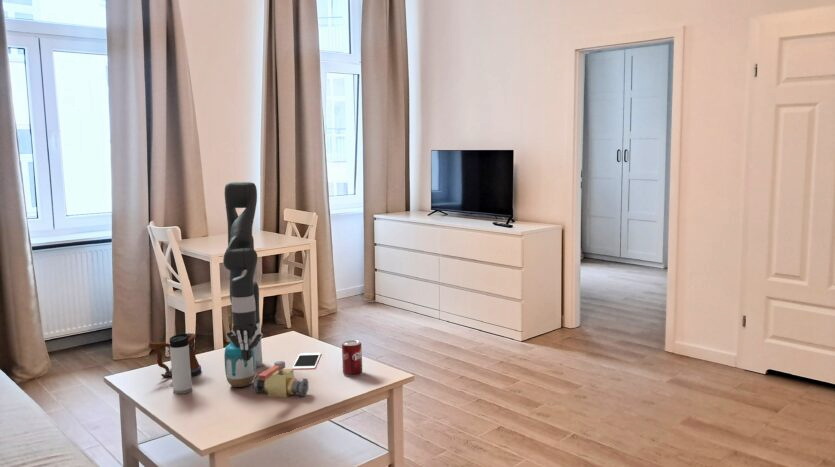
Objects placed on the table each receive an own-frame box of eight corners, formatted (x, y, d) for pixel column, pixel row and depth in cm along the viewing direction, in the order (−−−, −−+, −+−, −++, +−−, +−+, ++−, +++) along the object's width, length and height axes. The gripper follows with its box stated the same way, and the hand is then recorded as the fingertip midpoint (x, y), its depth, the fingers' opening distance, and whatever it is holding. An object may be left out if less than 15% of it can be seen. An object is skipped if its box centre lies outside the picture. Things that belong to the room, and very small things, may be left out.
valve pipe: (253, 394, 229) (252, 369, 227) (262, 388, 234) (261, 363, 233) (301, 399, 224) (299, 373, 222) (308, 392, 229) (307, 367, 228)
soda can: (364, 370, 250) (362, 339, 249) (360, 377, 243) (359, 345, 241) (345, 370, 251) (344, 339, 249) (341, 377, 244) (339, 345, 242)
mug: (154, 384, 240) (150, 345, 238) (149, 375, 250) (145, 337, 248) (204, 374, 249) (201, 336, 247) (197, 366, 259) (195, 329, 257)
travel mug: (196, 387, 236) (192, 333, 233) (184, 394, 230) (180, 339, 227) (181, 386, 238) (177, 332, 235) (169, 392, 232) (165, 337, 229)
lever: (277, 365, 230) (277, 360, 230) (287, 366, 229) (286, 361, 229) (257, 379, 216) (257, 374, 216) (267, 380, 215) (266, 375, 215)
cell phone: (321, 354, 271) (321, 352, 271) (315, 370, 253) (314, 367, 253) (299, 355, 271) (299, 353, 271) (291, 370, 253) (291, 368, 253)
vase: (240, 378, 245) (236, 328, 242) (262, 382, 240) (259, 331, 237) (219, 388, 235) (216, 336, 233) (243, 392, 231) (239, 339, 228)
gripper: (219, 310, 214) (222, 362, 216) (255, 312, 210) (259, 365, 213) (232, 305, 221) (235, 355, 223) (267, 307, 217) (270, 357, 220)
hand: (246, 360), depth 218 cm, fingers closed
